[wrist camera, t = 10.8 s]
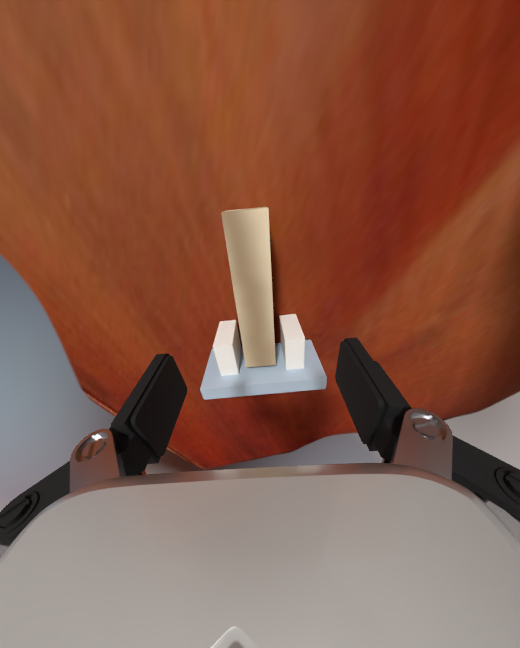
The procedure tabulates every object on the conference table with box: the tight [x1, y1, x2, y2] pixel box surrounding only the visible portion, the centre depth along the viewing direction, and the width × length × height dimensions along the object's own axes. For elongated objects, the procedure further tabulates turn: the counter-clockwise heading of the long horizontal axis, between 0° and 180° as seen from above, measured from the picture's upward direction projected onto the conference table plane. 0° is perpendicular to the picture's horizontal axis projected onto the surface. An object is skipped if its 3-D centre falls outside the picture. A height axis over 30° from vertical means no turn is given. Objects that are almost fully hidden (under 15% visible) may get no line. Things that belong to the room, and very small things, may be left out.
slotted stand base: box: [200, 314, 327, 400], centre depth 27 cm, size 7×16×8 cm, turn 96°
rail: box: [221, 207, 276, 367], centre depth 24 cm, size 4×18×6 cm, turn 5°
